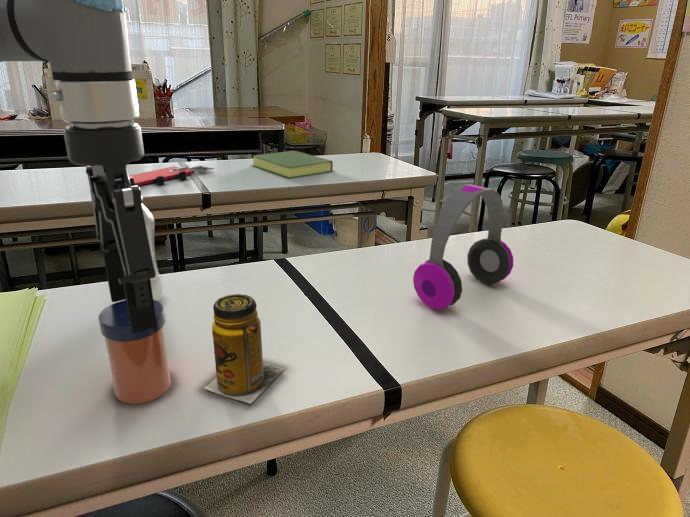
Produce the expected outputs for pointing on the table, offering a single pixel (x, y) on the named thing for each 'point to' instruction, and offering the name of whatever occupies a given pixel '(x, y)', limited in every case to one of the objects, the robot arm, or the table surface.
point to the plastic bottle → (152, 253)
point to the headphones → (483, 257)
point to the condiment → (239, 350)
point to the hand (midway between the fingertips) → (133, 312)
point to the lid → (126, 322)
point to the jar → (139, 368)
